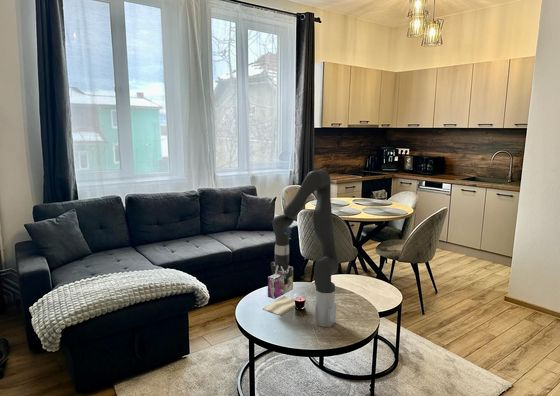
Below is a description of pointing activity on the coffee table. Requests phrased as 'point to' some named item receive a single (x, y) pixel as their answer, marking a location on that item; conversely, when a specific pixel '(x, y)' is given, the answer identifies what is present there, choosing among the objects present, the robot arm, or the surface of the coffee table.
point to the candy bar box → (278, 285)
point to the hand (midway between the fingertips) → (281, 282)
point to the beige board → (280, 306)
